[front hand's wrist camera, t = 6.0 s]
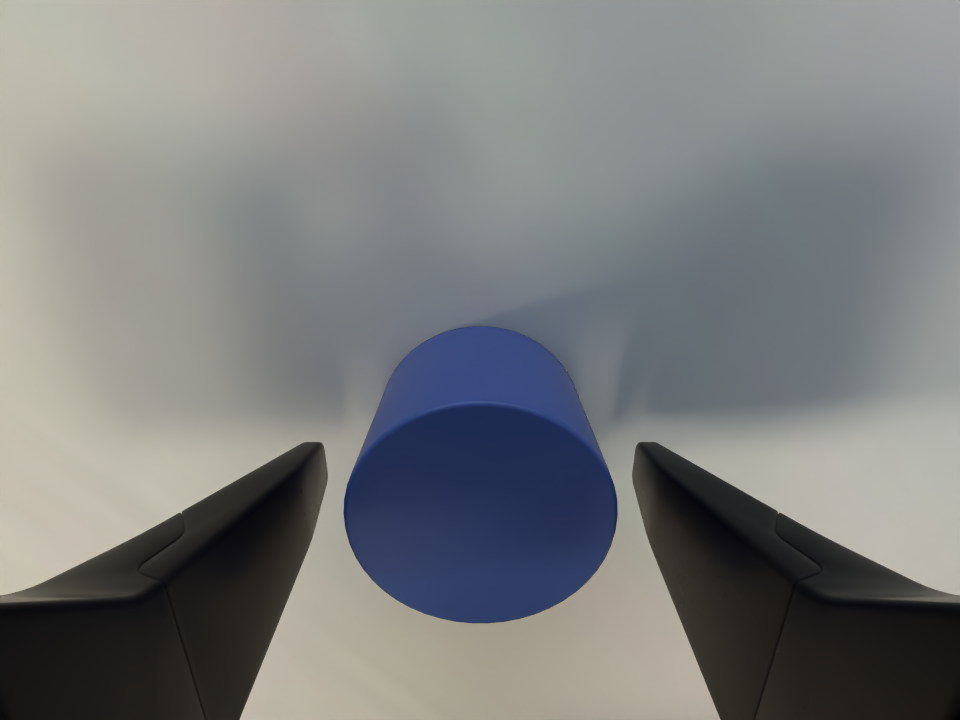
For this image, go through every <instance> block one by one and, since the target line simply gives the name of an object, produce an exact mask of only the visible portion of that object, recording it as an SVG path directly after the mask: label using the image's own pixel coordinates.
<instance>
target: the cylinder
mask: <svg viewBox="0 0 960 720" xmlns="http://www.w3.org/2000/svg"><path fill="white" fill-rule="evenodd" d="M617 515H618V514H617V497H616V492H615V487H614V484H613V481H612V478H611V475H610V473H609V470H608V468H607V465H606V463H605V460H604V458H603V455H602V453H601V451H600V448H599V446H598V443H597V441H596V438H595V436H594V433H593V431H592V428H591V426H590V424H589V421H588V419H587V416H586V414H585V411H584V409H583V406H582V404H581V402H580V399H579V397H578V394H577V392H576V389H575V387H574V384H573V382H572V380H571V378H570V376H569V374H568V373H567V371H566V369H565V368H564V367H563V365H562V364H561V363H560V361H559V360H558V359H557V358H556V357H555V356H554V355H553V354H552V353H551V352H550V351H548V350H547V349H546V348H544V347H543V346H542V345H541V344H539V343H537V342H536V341H534V340H532V339H530V338H529V337H526V336H524V335H521V334H519V333H516V332H513V331H509V330H506V329H502V328H494V327H467V328H459V329H455V330H451V331H447V332H445V333H442V334H440V335H437V336H434V337H433V338H431V339H429V340H427V341H425V342H423V343H422V344H421V345H419V346H418V347H416V348H415V349H414V350H412V351H411V352H410V353H409V354H408V355H407V356H406V357H405V358H404V359H403V360H402V361H401V363H400V364H399V365H398V367H397V368H396V369H395V371H394V373H393V374H392V376H391V378H390V380H389V382H388V384H387V387H386V389H385V392H384V394H383V397H382V399H381V402H380V404H379V407H378V409H377V412H376V414H375V417H374V419H373V422H372V424H371V427H370V429H369V432H368V434H367V436H366V439H365V441H364V444H363V446H362V449H361V451H360V454H359V456H358V459H357V461H356V464H355V466H354V469H353V471H352V474H351V476H350V479H349V482H348V484H347V489H346V494H345V498H344V520H345V528H346V532H347V536H348V539H349V543H350V546H351V548H352V550H353V552H354V555H355V557H356V558H357V560H358V562H359V563H360V565H361V566H362V568H363V569H364V571H365V572H366V573H367V574H368V575H369V577H370V578H371V579H372V580H373V581H374V582H375V583H376V584H377V585H378V586H379V587H380V588H381V589H383V590H384V591H385V592H386V593H388V594H389V595H390V596H392V597H393V598H395V599H396V600H398V601H399V602H401V603H403V604H405V605H407V606H408V607H410V608H413V609H415V610H417V611H420V612H422V613H424V614H428V615H431V616H434V617H437V618H441V619H446V620H451V621H456V622H466V623H495V622H505V621H510V620H515V619H520V618H524V617H527V616H530V615H534V614H536V613H539V612H541V611H544V610H546V609H549V608H551V607H553V606H554V605H556V604H558V603H560V602H562V601H564V600H565V599H566V598H568V597H569V596H571V595H572V594H574V593H575V592H576V591H577V590H579V589H580V588H581V587H582V586H583V585H584V584H585V583H586V582H587V581H588V580H589V579H590V578H591V577H592V576H593V574H594V573H595V572H596V571H597V570H598V568H599V567H600V565H601V564H602V562H603V561H604V559H605V557H606V555H607V553H608V551H609V549H610V546H611V544H612V540H613V537H614V533H615V530H616V523H617Z"/></svg>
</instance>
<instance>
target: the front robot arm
mask: <svg viewBox="0 0 960 720" xmlns="http://www.w3.org/2000/svg"><path fill="white" fill-rule="evenodd" d="M327 479H328V473H327V465H326V457H325V450H324V446H323V444H322V443H321V442H304V443H302V444H300V445H298V446H297V447H295V448H293V449H291V450H290V451H288V452H286V453H284V454H283V455H281V456H279V457H277V458H275V459H274V460H272V461H270V462H268V463H267V464H265V465H263V466H261V467H260V468H258V469H256V470H254V471H253V472H251V473H249V474H247V475H245V476H244V477H242V478H240V479H238V480H237V481H235V482H233V483H231V484H230V485H228V486H226V487H224V488H222V489H221V490H219V491H217V492H215V493H214V494H212V495H210V496H208V497H207V498H205V499H203V500H201V501H200V502H198V503H196V504H194V505H192V506H191V507H189V508H187V509H185V510H184V511H182V514H181V513H178V514H176V515H175V516H173V517H171V518H169V519H168V520H166V521H164V522H162V523H160V524H159V525H157V526H155V527H153V528H151V529H149V530H148V531H146V532H144V533H142V534H140V535H138V536H136V537H134V538H132V539H130V540H128V541H126V542H124V543H122V544H120V545H118V546H116V547H114V548H113V549H110V550H108V551H106V552H104V553H102V554H100V555H98V556H96V557H94V558H92V559H90V560H88V561H86V562H84V563H82V564H80V565H78V566H76V567H74V568H72V569H70V570H68V571H66V572H64V573H62V574H60V575H57V576H55V577H53V578H51V579H49V580H47V581H45V582H43V583H41V584H38V585H36V586H34V587H31V588H28V589H25V590H23V591H19V592H15V593H11V594H7V595H0V720H239V719H240V717H241V714H242V712H243V709H244V707H245V704H246V702H247V699H248V697H249V694H250V692H251V689H252V687H253V684H254V682H255V680H256V677H257V675H258V672H259V670H260V667H261V665H262V662H263V660H264V657H265V655H266V652H267V650H268V647H269V645H270V642H271V640H272V637H273V635H274V632H275V630H276V627H277V625H278V622H279V620H280V618H281V615H282V613H283V610H284V608H285V605H286V603H287V600H288V598H289V595H290V593H291V590H292V588H293V585H294V583H295V580H296V578H297V575H298V573H299V570H300V568H301V565H302V563H303V560H304V558H305V556H306V553H307V551H308V548H309V545H310V543H311V540H312V537H313V533H314V530H315V526H316V522H317V518H318V515H319V511H320V507H321V503H322V500H323V496H324V492H325V488H326V485H327ZM632 479H633V485H634V489H635V492H636V496H637V500H638V504H639V507H640V511H641V515H642V519H643V522H644V526H645V530H646V533H647V537H648V540H649V543H650V545H651V548H652V551H653V553H654V556H655V558H656V561H657V563H658V566H659V568H660V570H661V573H662V575H663V578H664V580H665V583H666V585H667V588H668V590H669V593H670V595H671V598H672V600H673V603H674V605H675V608H676V610H677V613H678V615H679V618H680V620H681V623H682V625H683V628H684V630H685V633H686V635H687V637H688V640H689V642H690V645H691V647H692V650H693V652H694V655H695V657H696V660H697V662H698V665H699V667H700V670H701V672H702V675H703V677H704V680H705V682H706V685H707V687H708V690H709V692H710V695H711V697H712V699H713V702H714V704H715V707H716V709H717V712H718V714H719V717H720V719H721V720H960V596H959V595H953V594H949V593H945V592H941V591H937V590H935V589H932V588H929V587H926V586H924V585H922V584H919V583H917V582H915V581H913V580H911V579H909V578H907V577H905V576H902V575H900V574H898V573H896V572H894V571H892V570H890V569H888V568H886V567H884V566H882V565H880V564H878V563H876V562H874V561H872V560H870V559H868V558H866V557H864V556H862V555H860V554H858V553H856V552H854V551H852V550H849V549H847V548H845V547H843V546H841V545H840V544H838V543H836V542H834V541H832V540H830V539H828V538H826V537H824V536H822V535H820V534H818V533H816V532H814V531H812V530H810V529H809V528H807V527H805V526H803V525H801V524H799V523H798V522H796V521H794V520H792V519H791V518H789V517H787V516H785V515H784V514H782V513H779V514H778V512H777V511H776V510H775V509H773V508H771V507H769V506H768V505H766V504H764V503H762V502H760V501H759V500H757V499H755V498H753V497H752V496H750V495H748V494H746V493H745V492H743V491H741V490H739V489H737V488H736V487H734V486H732V485H730V484H729V483H727V482H725V481H723V480H722V479H720V478H718V477H716V476H715V475H713V474H711V473H709V472H707V471H706V470H704V469H702V468H700V467H699V466H697V465H695V464H693V463H692V462H690V461H688V460H686V459H684V458H683V457H681V456H679V455H677V454H676V453H674V452H672V451H670V450H669V449H667V448H665V447H663V446H662V445H660V444H658V443H656V442H639V443H638V444H637V446H636V450H635V457H634V465H633V472H632Z"/></svg>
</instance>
